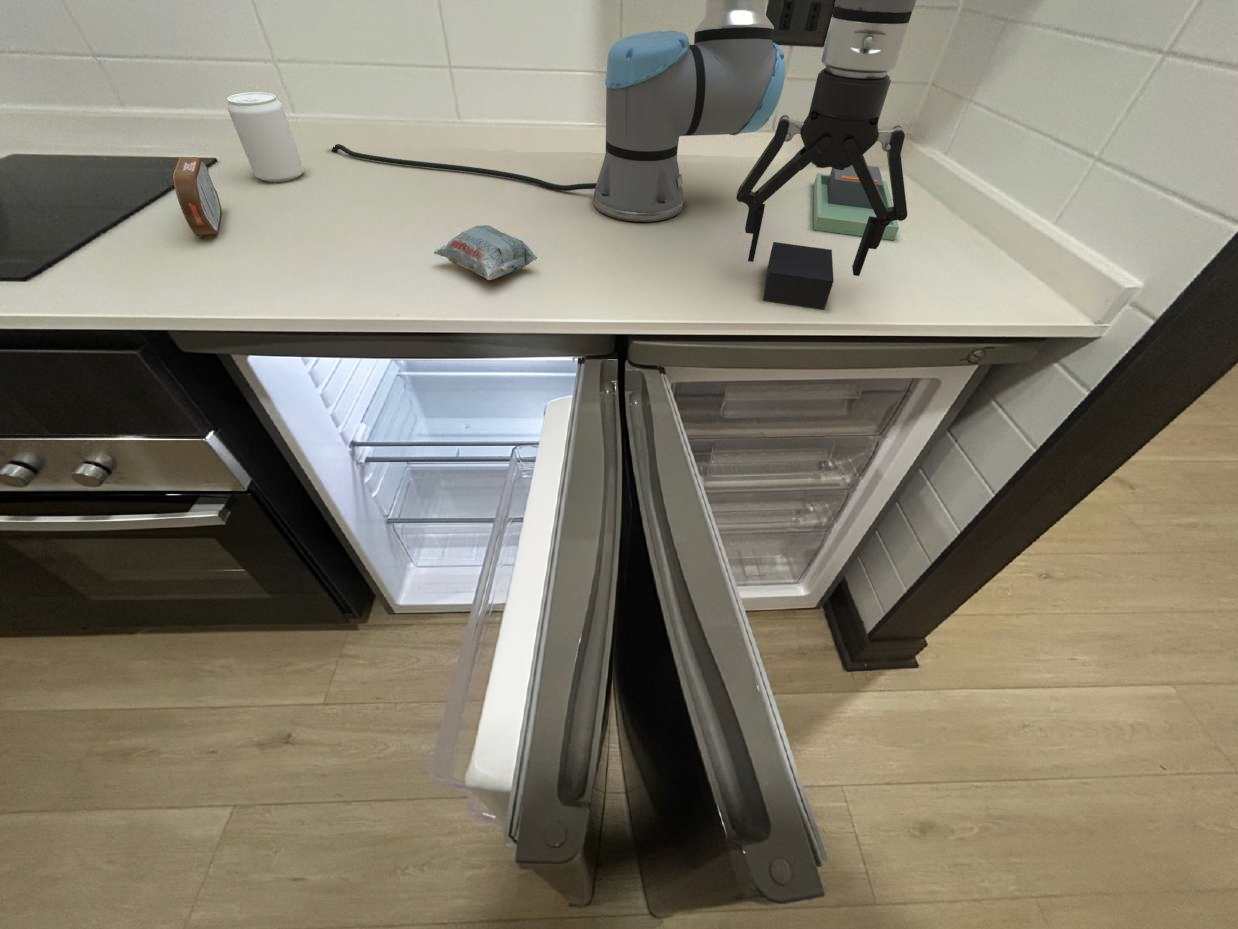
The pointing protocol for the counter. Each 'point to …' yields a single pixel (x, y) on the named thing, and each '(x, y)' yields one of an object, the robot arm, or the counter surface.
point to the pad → (850, 187)
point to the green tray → (846, 212)
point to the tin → (197, 196)
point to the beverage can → (265, 136)
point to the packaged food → (487, 252)
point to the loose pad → (799, 275)
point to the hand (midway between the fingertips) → (802, 264)
